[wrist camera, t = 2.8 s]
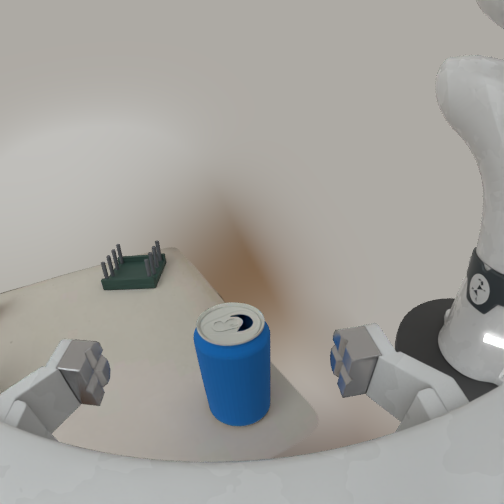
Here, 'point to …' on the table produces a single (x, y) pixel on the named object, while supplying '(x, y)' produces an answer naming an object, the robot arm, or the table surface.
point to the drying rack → (134, 270)
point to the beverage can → (234, 362)
